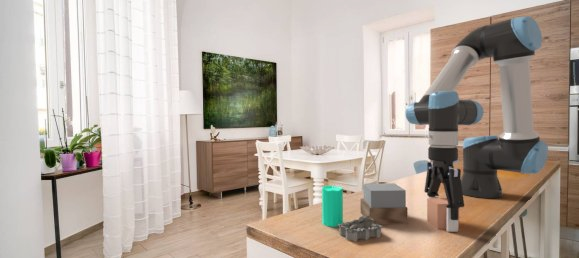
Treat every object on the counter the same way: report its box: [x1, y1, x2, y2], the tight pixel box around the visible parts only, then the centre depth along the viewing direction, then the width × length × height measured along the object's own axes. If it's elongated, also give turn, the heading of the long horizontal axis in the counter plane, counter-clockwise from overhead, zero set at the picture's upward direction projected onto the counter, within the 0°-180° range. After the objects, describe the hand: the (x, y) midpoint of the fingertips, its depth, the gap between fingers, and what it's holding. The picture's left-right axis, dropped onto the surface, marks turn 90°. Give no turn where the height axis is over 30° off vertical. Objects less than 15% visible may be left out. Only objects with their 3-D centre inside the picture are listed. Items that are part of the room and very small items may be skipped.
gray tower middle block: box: [362, 182, 407, 208], centre depth 94 cm, size 10×10×5 cm
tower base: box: [360, 198, 409, 225], centre depth 95 cm, size 11×11×5 cm
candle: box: [321, 182, 344, 228], centre depth 90 cm, size 6×6×12 cm
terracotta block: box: [426, 197, 460, 230], centre depth 87 cm, size 6×6×7 cm
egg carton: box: [337, 215, 384, 242], centre depth 81 cm, size 11×8×4 cm
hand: (442, 224), depth 88 cm, fingers open, 10 cm apart
